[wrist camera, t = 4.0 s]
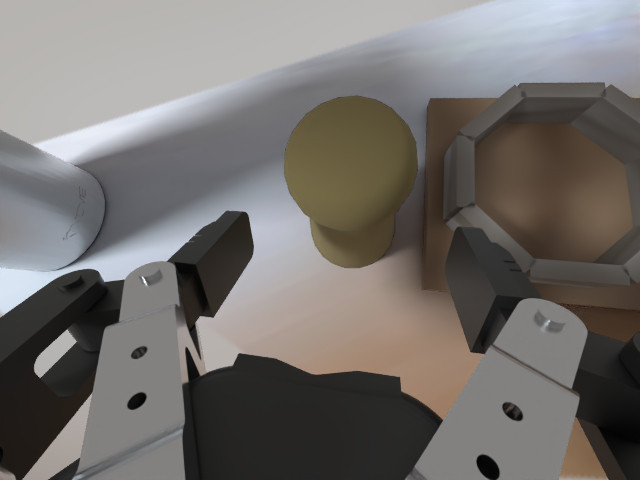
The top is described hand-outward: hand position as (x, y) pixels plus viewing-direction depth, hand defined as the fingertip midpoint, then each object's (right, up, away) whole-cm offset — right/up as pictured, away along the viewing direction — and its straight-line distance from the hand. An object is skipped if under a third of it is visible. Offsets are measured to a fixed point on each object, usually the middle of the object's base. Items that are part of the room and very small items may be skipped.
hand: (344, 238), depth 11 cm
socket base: (+14, +3, +8) cm, 16 cm away
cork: (+1, +1, +9) cm, 9 cm away
